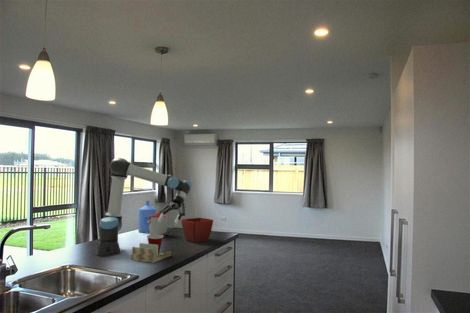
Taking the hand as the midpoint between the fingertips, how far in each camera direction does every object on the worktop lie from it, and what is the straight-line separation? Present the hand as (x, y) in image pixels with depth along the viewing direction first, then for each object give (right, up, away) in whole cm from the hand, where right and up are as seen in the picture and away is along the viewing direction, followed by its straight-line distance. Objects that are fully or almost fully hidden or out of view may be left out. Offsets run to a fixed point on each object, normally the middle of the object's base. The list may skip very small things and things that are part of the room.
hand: (167, 222), depth 235 cm
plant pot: (+16, -23, +41) cm, 49 cm away
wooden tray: (-7, -20, -14) cm, 25 cm away
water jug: (-34, -24, +82) cm, 92 cm away
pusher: (-9, -19, -17) cm, 26 cm away
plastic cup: (-7, -19, -8) cm, 22 cm away
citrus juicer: (-20, -23, +61) cm, 68 cm away
